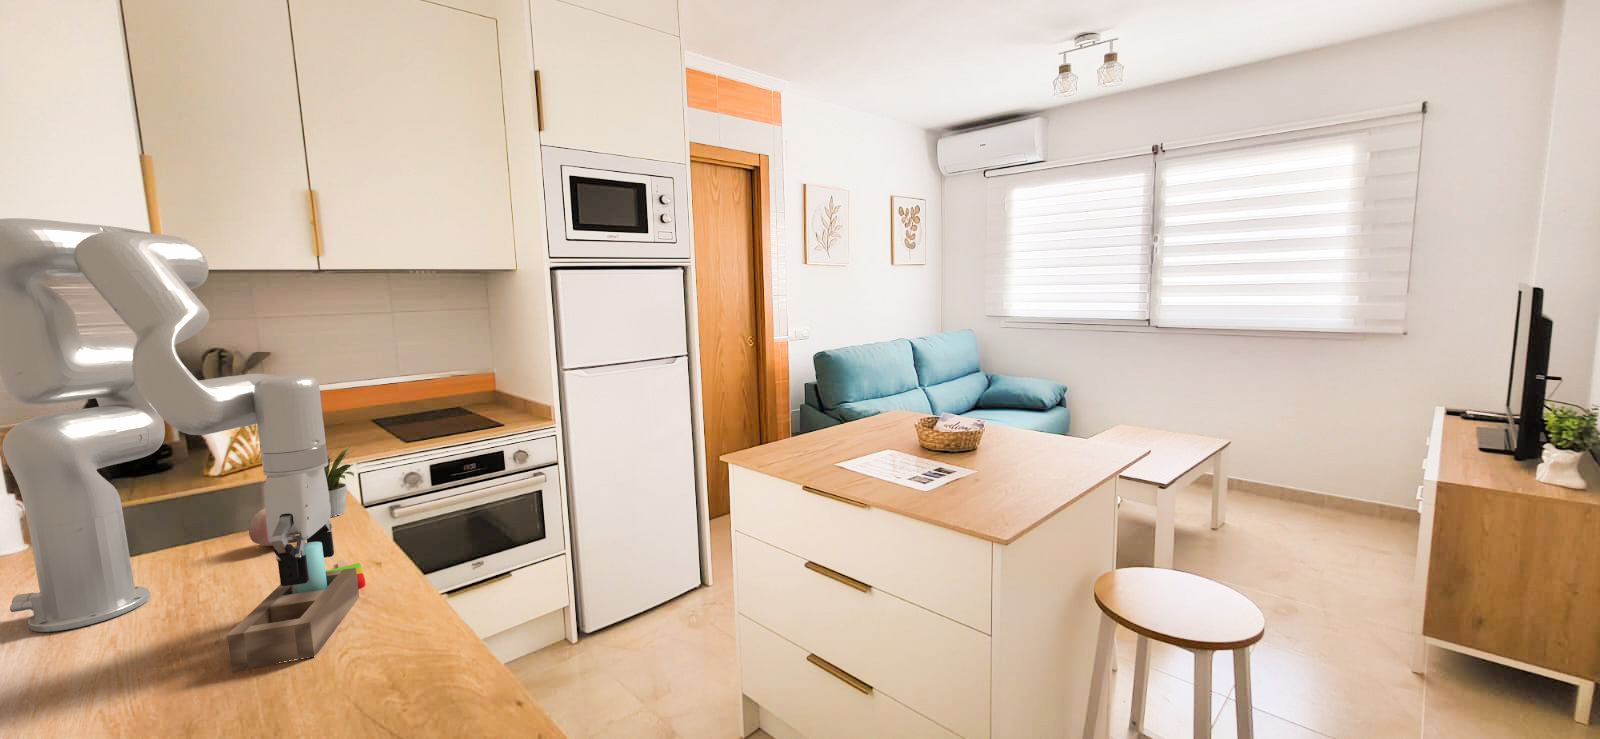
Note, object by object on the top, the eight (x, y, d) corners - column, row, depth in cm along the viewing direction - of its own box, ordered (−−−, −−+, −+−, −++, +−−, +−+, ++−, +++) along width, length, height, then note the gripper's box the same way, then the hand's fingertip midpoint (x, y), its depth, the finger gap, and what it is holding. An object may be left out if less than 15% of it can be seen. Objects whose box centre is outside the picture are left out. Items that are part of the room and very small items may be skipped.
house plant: (279, 533, 130) (269, 456, 128) (284, 515, 141) (275, 444, 139) (363, 517, 138) (355, 445, 136) (361, 501, 149) (354, 434, 148)
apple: (293, 551, 121) (288, 511, 120) (243, 557, 118) (238, 516, 117) (309, 536, 128) (304, 498, 127) (263, 542, 126) (258, 503, 125)
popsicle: (325, 600, 101) (323, 589, 101) (322, 570, 113) (321, 559, 113) (366, 590, 105) (365, 579, 105) (359, 561, 116) (358, 551, 116)
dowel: (294, 624, 93) (285, 553, 92) (304, 612, 97) (296, 543, 95) (324, 619, 94) (316, 549, 93) (334, 607, 98) (326, 540, 97)
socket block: (231, 671, 81) (226, 635, 81) (292, 607, 98) (288, 577, 98) (314, 657, 84) (310, 622, 84) (359, 597, 101) (355, 567, 101)
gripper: (290, 448, 100) (303, 552, 102) (233, 478, 83) (250, 600, 85) (346, 444, 102) (357, 545, 104) (301, 472, 86) (316, 591, 88)
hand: (309, 570), depth 95 cm, fingers open, 9 cm apart
